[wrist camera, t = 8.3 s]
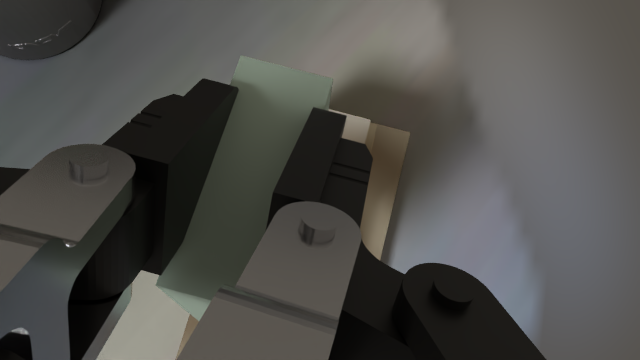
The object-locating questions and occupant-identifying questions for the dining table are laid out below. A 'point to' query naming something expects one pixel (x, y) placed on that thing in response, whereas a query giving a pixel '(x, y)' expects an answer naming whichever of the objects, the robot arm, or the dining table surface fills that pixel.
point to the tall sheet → (242, 179)
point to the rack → (369, 195)
